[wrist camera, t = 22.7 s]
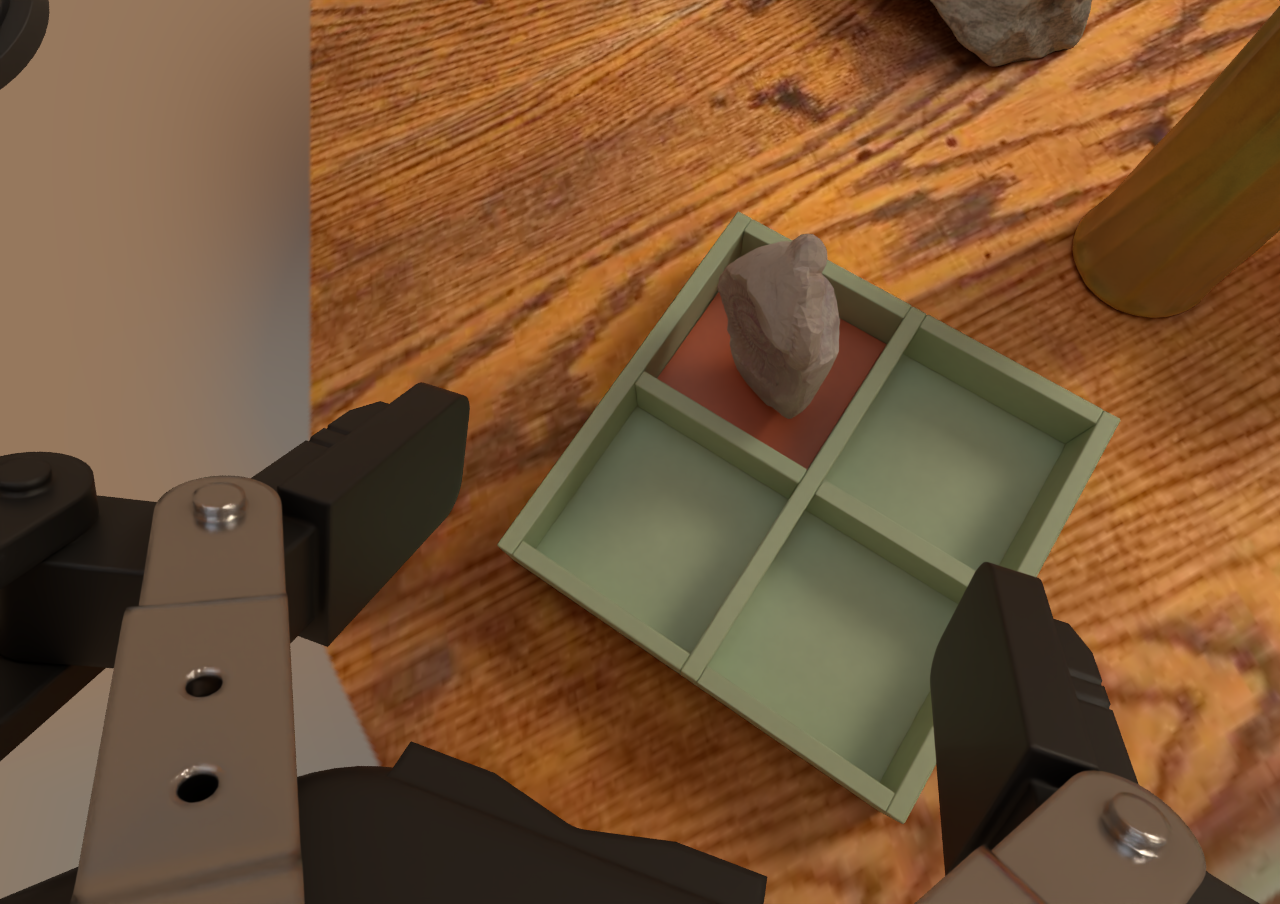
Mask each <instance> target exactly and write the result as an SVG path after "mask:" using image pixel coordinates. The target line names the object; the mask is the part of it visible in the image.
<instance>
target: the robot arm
mask: <svg viewBox="0 0 1280 904" xmlns="http://www.w3.org/2000/svg"><path fill="white" fill-rule="evenodd" d="M8 6H9V0H0V26H1V25H2V23H3V21H4V19H5V16H6V13H7V11H8ZM469 410H470V408H469V401H468V398H467V397H466V396H464V395H461V394H458V393H455V392H451V391H448V390H445V389H442V388H439V387H436V386H432V385H429V384H426V383H422V382H421V383H418V384H416V385H415V386H413V387H412V388H411V389H409V390H408V391H406V392H405V393H404V394H402V395H401V396H400V397H398V398H397V399H396V400H394V401H393V402H391V403H390V404H387V403H384V402H381V401H380V402H376V403H373V404H369V405H366V406H363V407H359V408H356V409H353V410H349V411H348V412H347V413H345V414H344V415H342V416H341V417H339V418H338V419H336V420H335V421H333V422H332V423H331V424H329V425H328V428H327V429H325V428H323V429H322V430H320V431H319V432H317V433H316V434H315V435H313V436H312V437H311V438H310V441H304V442H303V443H302V444H300V445H299V446H297V447H296V448H294V449H293V450H291V451H290V452H289V453H287V454H286V455H284V456H283V457H281V458H280V459H278V460H277V461H276V462H274V463H272V464H271V465H270V466H268V467H267V468H265V469H264V470H263V471H261V472H259V473H258V474H256V475H255V476H254V477H252V478H245V477H239V476H211V477H204V478H199V479H196V480H191V481H188V482H185V483H183V484H180V485H178V486H176V487H174V488H172V489H171V490H169V491H168V492H166V493H165V494H164V495H163V496H162V497H161V498H160V499H159V500H158V502H149V501H141V500H132V499H123V498H115V497H106V496H97V495H96V489H95V482H94V475H93V471H92V470H91V468H90V466H88V465H87V464H86V463H85V462H83V461H82V460H80V459H78V458H75V457H72V456H69V455H65V454H60V453H52V452H26V453H15V454H10V455H4V456H0V761H1V760H2V759H3V758H4V757H6V756H7V755H8V754H9V753H10V752H11V751H12V750H13V749H15V748H16V747H17V746H18V745H19V744H20V743H21V742H23V741H24V740H25V739H26V738H27V737H28V736H29V735H30V734H32V733H33V732H34V731H35V730H36V729H37V728H38V727H39V726H41V725H42V724H43V723H44V722H45V721H46V720H47V719H49V718H50V717H51V716H52V715H53V714H54V713H55V712H56V711H58V710H59V709H60V708H61V707H62V706H63V705H64V704H65V703H67V702H68V701H69V700H70V699H71V698H72V697H73V696H75V695H76V694H77V693H78V692H79V691H80V690H81V689H82V688H84V687H85V686H86V685H87V684H88V683H89V682H90V681H91V680H92V679H94V678H95V677H96V676H97V675H98V674H99V673H101V672H102V671H103V670H104V669H105V668H114V671H113V676H112V682H111V687H110V693H109V699H108V704H107V710H106V715H105V721H104V727H103V732H102V738H101V744H100V749H99V755H98V760H97V766H96V772H95V777H94V783H93V788H92V794H91V799H90V805H89V811H88V816H87V822H86V828H85V833H84V839H83V844H82V850H81V855H80V861H79V867H76V868H74V869H71V870H69V871H67V872H64V873H62V874H59V875H57V876H55V877H52V878H50V879H48V880H45V881H43V882H40V883H38V884H36V885H33V886H31V887H28V888H26V889H23V890H21V891H19V892H16V893H14V894H11V895H9V896H7V897H4V898H2V899H0V904H764V897H765V889H766V882H767V876H764V875H762V874H759V873H756V872H754V871H751V870H748V869H746V868H743V867H740V866H738V865H735V864H733V863H730V862H727V861H725V860H722V859H719V858H717V857H714V856H712V855H709V854H706V853H704V852H701V851H698V850H696V849H693V848H690V847H688V846H685V845H683V844H680V843H677V842H673V841H665V840H658V839H650V838H643V837H635V836H627V835H620V834H612V833H605V832H597V831H589V830H583V829H579V828H576V827H574V826H571V825H570V824H568V823H566V822H565V821H563V820H562V819H560V818H559V817H558V816H556V815H555V814H553V813H552V812H550V811H549V810H547V809H546V808H544V807H543V806H542V805H540V804H539V803H537V802H536V801H534V800H533V799H531V798H530V797H528V796H527V795H526V794H524V793H523V792H521V791H520V790H518V789H517V788H515V787H514V786H512V785H511V784H510V783H508V782H507V781H505V780H504V779H502V778H501V777H499V776H498V775H496V774H495V773H493V772H490V771H488V770H485V769H482V768H480V767H477V766H474V765H472V764H469V763H467V762H464V761H461V760H459V759H456V758H453V757H451V756H448V755H445V754H443V753H440V752H438V751H435V750H432V749H430V748H427V747H424V746H422V745H419V744H416V743H414V742H410V743H409V745H408V746H407V748H406V749H405V751H404V752H403V754H402V755H401V757H400V758H399V760H398V761H397V763H396V764H395V766H394V767H393V768H391V767H382V766H355V767H344V768H334V769H330V770H324V771H319V772H314V773H310V774H306V775H303V776H299V777H297V769H296V751H295V750H296V749H295V730H294V711H293V691H292V672H291V652H290V643H291V642H292V641H293V640H294V639H295V638H296V637H297V636H300V637H303V638H305V639H308V640H311V641H313V642H316V643H319V644H321V645H324V646H327V647H328V646H329V645H330V644H331V643H332V642H333V640H334V639H335V638H336V637H337V636H338V635H339V634H340V633H341V632H342V631H343V630H344V628H345V627H346V626H347V625H348V624H349V623H350V622H351V621H352V620H353V619H354V618H355V617H356V615H357V614H358V613H359V612H360V611H361V610H362V609H363V608H364V607H365V606H366V605H367V603H368V602H369V601H370V600H371V599H372V598H373V597H374V596H375V595H376V594H377V593H378V591H379V590H380V589H381V588H382V587H383V586H384V585H385V584H386V583H387V582H388V581H389V579H390V578H391V577H392V576H393V575H394V574H395V573H396V572H397V571H398V570H399V569H400V568H401V566H402V565H403V564H404V563H405V562H406V561H407V560H408V559H409V558H410V557H411V556H412V554H413V553H414V552H415V551H416V550H417V549H418V548H419V547H420V546H421V545H422V544H423V542H424V541H425V540H426V539H427V538H428V537H429V536H430V535H431V534H432V533H433V532H434V530H435V529H436V528H437V527H438V526H439V525H440V524H441V523H442V522H443V521H444V520H445V518H446V517H447V516H448V515H449V513H450V512H451V510H452V508H453V506H454V504H455V502H456V499H457V497H458V494H459V490H460V487H461V482H462V474H463V465H464V456H465V447H466V438H467V429H468V421H469ZM1101 682H1102V679H1101V676H1100V673H1099V670H1098V668H1097V665H1096V662H1095V659H1094V656H1093V653H1092V652H1091V651H1090V649H1089V648H1088V647H1087V646H1086V644H1085V643H1084V642H1083V641H1082V639H1081V638H1080V637H1079V636H1078V635H1077V633H1076V632H1075V631H1074V630H1073V628H1072V627H1071V626H1070V625H1069V624H1068V623H1065V622H1062V621H1059V620H1056V619H1053V616H1052V613H1051V610H1050V606H1049V603H1048V600H1047V597H1046V593H1045V590H1044V587H1043V584H1042V581H1041V580H1040V579H1039V578H1037V577H1034V576H1031V575H1028V574H1024V573H1021V572H1018V571H1015V570H1012V569H1009V568H1005V567H1002V566H999V565H996V564H993V563H990V562H984V563H982V564H981V565H980V566H979V567H978V569H977V570H976V571H975V573H974V575H973V577H972V579H971V581H970V583H969V585H968V587H967V588H966V590H965V592H964V594H963V596H962V598H961V600H960V602H959V604H958V606H957V608H956V610H955V612H954V614H953V615H952V617H951V619H950V621H949V623H948V625H947V627H946V629H945V631H944V633H943V635H942V637H941V639H940V641H939V643H938V645H937V648H936V651H935V654H934V658H933V662H932V666H931V673H930V689H931V702H932V715H933V727H934V740H935V752H936V765H937V777H938V790H939V803H940V815H941V828H942V840H943V853H944V865H945V877H944V878H943V879H942V880H940V881H939V882H938V883H937V884H936V885H935V886H934V887H933V888H931V889H930V890H929V891H928V892H927V893H926V894H925V895H924V896H922V897H921V898H920V899H919V900H918V901H917V902H916V903H915V904H1259V903H1258V902H1256V901H1254V900H1252V899H1251V898H1249V897H1247V896H1246V895H1244V894H1242V893H1241V892H1239V891H1237V890H1236V889H1234V888H1232V887H1230V886H1229V885H1227V884H1225V883H1224V882H1222V881H1221V880H1219V879H1217V878H1216V877H1214V876H1213V875H1211V874H1210V873H1208V872H1207V871H1206V863H1205V857H1204V854H1203V852H1202V849H1201V847H1200V845H1199V843H1198V841H1197V839H1196V837H1195V836H1194V834H1193V833H1192V831H1191V830H1190V829H1189V827H1188V826H1187V825H1186V824H1185V822H1184V821H1183V820H1182V819H1181V818H1180V817H1179V816H1178V815H1177V814H1176V813H1175V812H1174V811H1173V810H1172V809H1171V808H1170V807H1169V806H1168V805H1167V804H1165V803H1164V802H1163V801H1162V800H1161V799H1159V798H1158V797H1157V796H1155V795H1154V794H1152V793H1151V792H1150V791H1148V790H1146V789H1145V788H1143V787H1141V786H1140V785H1139V784H1138V781H1137V779H1136V776H1135V773H1134V770H1133V767H1132V764H1131V762H1130V759H1129V756H1128V753H1127V750H1126V747H1125V744H1124V742H1123V739H1122V736H1121V733H1120V730H1119V727H1118V725H1117V722H1116V719H1115V716H1114V713H1113V710H1110V709H1109V706H1110V702H1109V699H1108V696H1107V693H1106V690H1105V687H1104V686H1101Z"/></svg>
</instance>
